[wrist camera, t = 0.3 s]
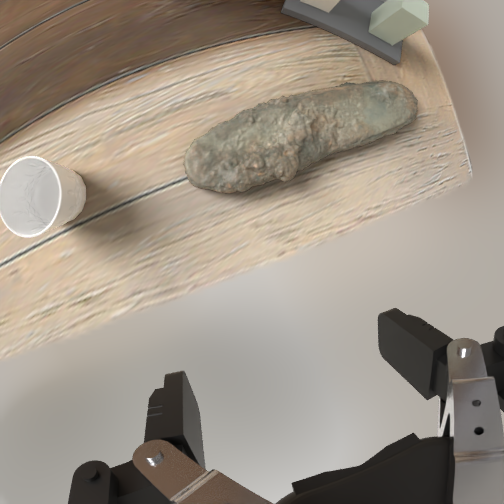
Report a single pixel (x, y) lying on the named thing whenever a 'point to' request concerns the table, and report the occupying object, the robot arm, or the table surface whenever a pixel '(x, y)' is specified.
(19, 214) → the white cup
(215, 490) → the robot arm
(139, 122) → the table surface
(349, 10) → the tile board
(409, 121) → the elongated rock
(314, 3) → the white block
